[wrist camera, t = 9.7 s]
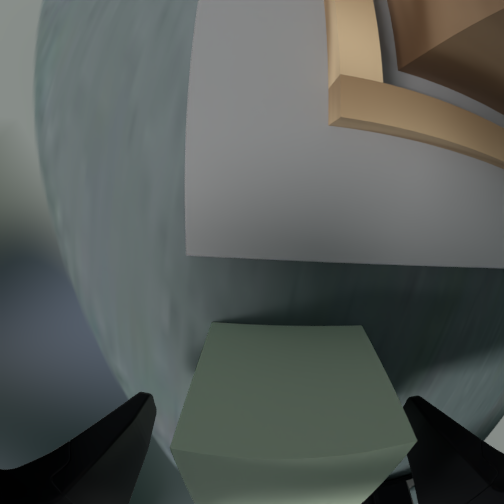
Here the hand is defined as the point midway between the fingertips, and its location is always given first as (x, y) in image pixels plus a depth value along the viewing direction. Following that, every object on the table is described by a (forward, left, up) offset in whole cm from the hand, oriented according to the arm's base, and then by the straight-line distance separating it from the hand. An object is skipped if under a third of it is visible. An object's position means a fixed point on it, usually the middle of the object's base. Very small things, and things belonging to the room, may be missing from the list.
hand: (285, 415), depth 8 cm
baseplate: (+13, -5, -2) cm, 14 cm away
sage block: (0, 0, -2) cm, 2 cm away
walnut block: (+13, -5, -1) cm, 14 cm away
